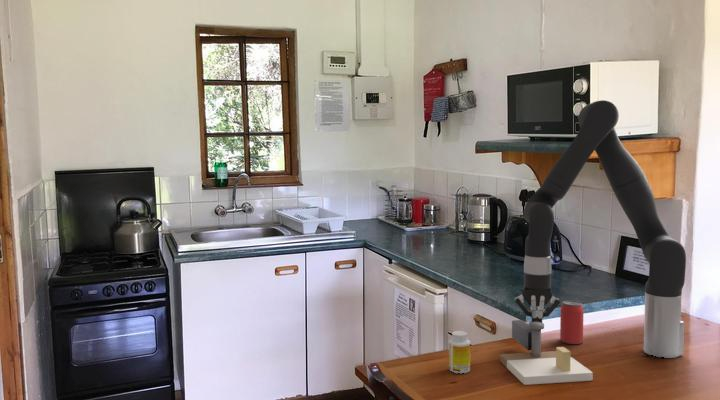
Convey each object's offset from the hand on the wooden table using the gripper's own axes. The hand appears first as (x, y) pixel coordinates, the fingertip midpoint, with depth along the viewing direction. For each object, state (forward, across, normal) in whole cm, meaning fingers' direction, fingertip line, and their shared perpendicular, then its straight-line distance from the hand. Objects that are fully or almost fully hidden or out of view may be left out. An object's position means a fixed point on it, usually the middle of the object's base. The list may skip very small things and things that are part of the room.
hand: (536, 330), depth 177 cm
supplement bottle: (+6, +22, +19) cm, 29 cm away
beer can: (+6, -11, -10) cm, 17 cm away
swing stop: (+3, +4, +3) cm, 5 cm away
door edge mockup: (+6, 0, +16) cm, 17 cm away
